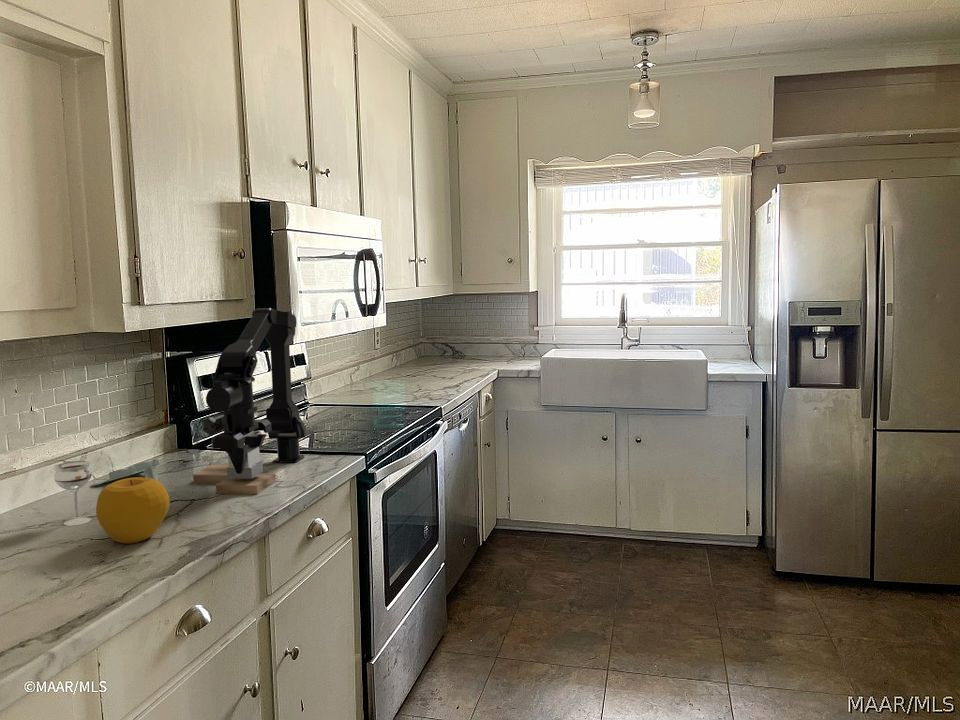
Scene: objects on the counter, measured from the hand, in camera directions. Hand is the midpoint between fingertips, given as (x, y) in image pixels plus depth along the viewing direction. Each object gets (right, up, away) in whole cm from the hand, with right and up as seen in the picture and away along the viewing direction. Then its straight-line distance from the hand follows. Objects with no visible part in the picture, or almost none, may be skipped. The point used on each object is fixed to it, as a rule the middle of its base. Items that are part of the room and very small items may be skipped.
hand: (245, 469), depth 175 cm
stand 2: (0, -4, 0) cm, 4 cm away
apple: (-11, -9, -31) cm, 34 cm away
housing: (0, -1, 0) cm, 1 cm away
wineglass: (-28, -8, -20) cm, 36 cm away
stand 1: (-9, -3, +10) cm, 13 cm away
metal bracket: (-31, -5, +10) cm, 33 cm away
